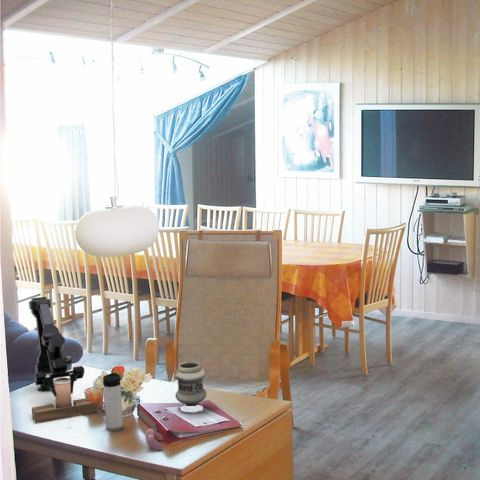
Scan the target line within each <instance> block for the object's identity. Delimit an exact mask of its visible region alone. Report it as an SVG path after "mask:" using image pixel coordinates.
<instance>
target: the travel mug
mask: <svg viewBox="0 0 480 480" xmlns="http://www.w3.org/2000/svg"><path fill="white" fill-rule="evenodd" d="M102 381H103V382H102V383H103V401H104V402H103V403H104V416H105V418H104V419H105V420H104V421H105V429H106V430H107V431H109V432H110V431H112V432H116V431H120V430H122V429H123V427H124V421H123V420H124V417H123V403H122V386H121V375H120V374H118V373H116V372H110V373H108V374H105V375H104V376H103V377H102Z"/></svg>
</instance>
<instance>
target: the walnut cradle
mask: <svg viewBox="0 0 480 480" xmlns="http://www.w3.org/2000/svg"><path fill="white" fill-rule="evenodd" d="M86 398H87V397H86ZM86 398H79V399H74V400H72V406H68V407H62V408H56V406H55V405H54V403H51V404H49V403H48V404H44V405H38V406H32V407H31V416H32V420H33V421H34V422H35V424H39V423H40V424H41V423H45V422H46V423H47V422H51V421H56V420H63V419H67V418H73V417H80V416H85V415H91V414H95V413H94V412H97V413H99V405H98V401H97V402H96V403H91V402H87V400H86Z"/></svg>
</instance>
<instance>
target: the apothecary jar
mask: <svg viewBox="0 0 480 480" xmlns="http://www.w3.org/2000/svg"><path fill="white" fill-rule="evenodd" d="M205 376H206V372H205V370H204V369H203V368H202V367H201V364H200V362H198V361H185V362H182V363H180V364H178V367H177V370H176V371H175V372H174V377H175V379H176V380H177V385H178V386H177V387H178V388H177V391H176V392H175V398H176V400H177V401H178V402H179V403H181V404H183V405H184V404H186V405H187V406H196V405H198V404H200V403H202V402H203V401H204V400H205V399H206V398H207V391H206V389H204V385H203V379H204V378H205Z"/></svg>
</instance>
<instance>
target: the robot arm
mask: <svg viewBox="0 0 480 480" xmlns="http://www.w3.org/2000/svg"><path fill="white" fill-rule="evenodd" d="M28 307H29V310H30V313H31V315H32V316H33V317H34V319H35V321H36V329H37V339H38V340H37V341H38V346H39V347H38V348H39V353H38V356H37V358H36V363H35V368H34V369H35V370H34V371H35V376H34V383H35V385H36V386H39V387H38V388H37V389H36V390H37V391H47V392H48V391H49V392H51V394H52V395H53V396H54V397H56V391H55V384H54V380H55V379H58V378H69V379H70V386H71V395H73V393H74V392H73V391H74V385H75V382H77V380H79V379H80V380H81V379H82V378H84V375H85V367H84V366H82V365H80V366H79V365H78V366H74V367H72V370H68V366H69V365H72V362H73V361H72V357H71V355H66V356H65V357H64V355H63V352H64V347H65V342H66V338H65V337H64V336H63V335H62V333H60V330H59V327H57V326H56V325H55V323H54V320H53V316H52V313H51V308H52V302H51V299H50V298H47V296H40V297H31V300H29V301H28Z"/></svg>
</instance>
